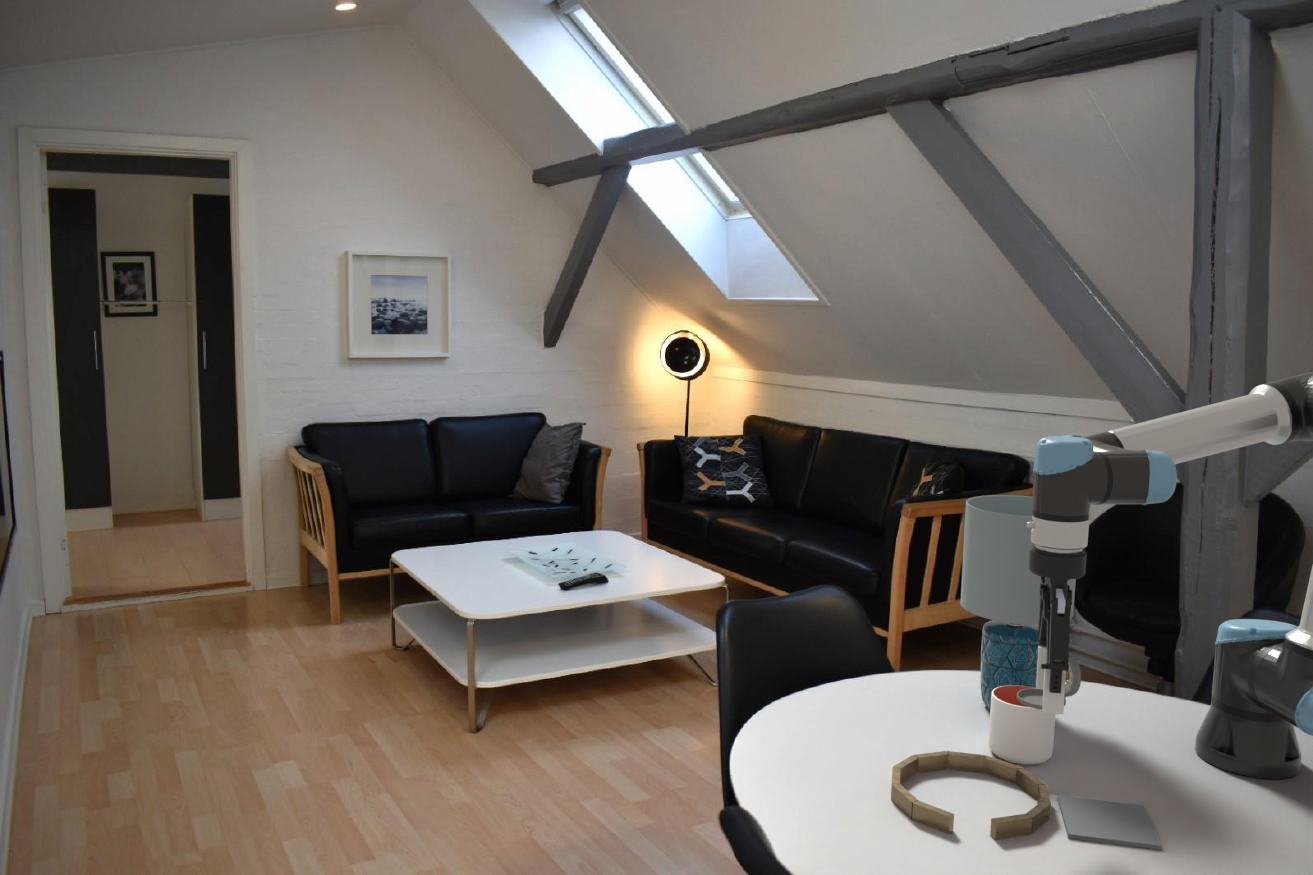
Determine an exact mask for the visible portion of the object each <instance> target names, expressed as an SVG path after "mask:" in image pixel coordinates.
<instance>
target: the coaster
mask: <svg viewBox="0 0 1313 875" xmlns="http://www.w3.org/2000/svg"><path fill="white" fill-rule="evenodd" d="M1056 799H1057V802H1058V806H1059V810H1060V814H1061V817H1062V821H1063V824H1064V828H1065V832H1066V835H1067V839H1071V840H1072V839H1073V840H1079V841H1080V840H1082V841H1089V842H1097V843H1106V844H1112V845H1119V846H1120V845H1122V846H1128V847H1136V848H1137V847H1138V848H1144V849H1145V848H1146V849H1152V850H1160V851H1161V850H1162V849H1163V845H1162V843H1161V840H1160V838H1159V836H1158V834H1157V832H1156V829H1155V827H1154V825H1153V822H1152V820H1151V818H1150V816H1149V813H1148V811H1147V809H1146V807H1145V804H1137V803H1129V802H1120V801H1113V800H1103V799H1097V798H1096V799H1095V798H1088V797H1087V798H1086V797H1078V796H1070V795H1069V796H1068V795H1063V794H1062V795H1061V794H1057V798H1056Z"/></svg>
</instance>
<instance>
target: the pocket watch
mask: <svg viewBox="0 0 1313 875" xmlns="http://www.w3.org/2000/svg"><path fill="white" fill-rule="evenodd" d="M1071 645H1073V638H1072V635H1070V634H1069V647H1070V646H1071ZM1055 661H1058V660H1055ZM1068 664H1069V669H1068V671H1066V678H1065V694H1064V707H1065V706H1066V704H1067V700H1066V698H1069V697H1072V696H1074V695H1075V694H1077V692H1078V691H1079V690H1080V687H1081V684H1082V683H1081V681H1082V673H1081V668H1080V664H1079V663H1078V660H1077V659H1076V658H1075V656H1074V655H1073V653H1071V652H1070V651H1069V662H1068ZM1017 699H1018V701H1019V702H1021V703H1022V704H1024V705H1026V706H1028V707H1032V708H1036V709H1041V710H1042V705H1043V689H1023V690H1020V691H1019V692H1018V693H1017Z"/></svg>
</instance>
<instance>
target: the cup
mask: <svg viewBox="0 0 1313 875" xmlns="http://www.w3.org/2000/svg"><path fill="white" fill-rule="evenodd" d="M1023 689H1036V688H1033V687H1027V686H1019V685H1006V686H1000V687H997V688H995V689H994V690H993V691H992V693H991V710H990V709H989V710H990V712H989V729H988V731H989V732H988V747H989V749H990V751H991V752H992V753H993V754H995V756H997V757H998V758H1000V759H1001V760H1003V761H1005V762H1008V763H1012V764H1016V765H1018V764H1019V765H1025V766H1026V765H1032V766H1033V765H1040V764H1043V763H1045V762H1048V761H1049V760H1050V759H1051V757H1052V756H1053V752H1054V743H1055V742H1054V739H1055V728H1056V727H1055V726H1056V724H1055V723H1056V714H1052V713H1043V712H1042V710H1041V709H1036V708H1032V707H1028V706H1026V705H1024V704H1022V703H1021V702H1019V701H1018V699H1017V693H1018V692H1019V691H1020V690H1023Z"/></svg>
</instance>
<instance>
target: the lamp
mask: <svg viewBox="0 0 1313 875" xmlns="http://www.w3.org/2000/svg"><path fill="white" fill-rule="evenodd" d="M1032 506H1033V496H1029V495H1017V494H1016V495H1015V494H1014V495H1013V494H1011V495H1010V494H991V495H990V494H988V495H980V496H978V495H977V496H973V497H970V498H968V499H966V500H965V511H964V512H965V514H964V515H965V516H964V530H963V531H964V532H963V533H964V534H963V549H962V550H963V552H962V569H961V586H960V587H961V588H960V606H961V608H963V609H964V610H965V611H967V612H968V613H971V614H973V615H975V616H977V617H981V618H983V619H986V620H987V619H988V620H989V621H987V622H985V623H984V624H983V627H982V633H981V634H982V635H981V646H980V647H981V649H980V693H981V694H980V695H981V700H982V702H983V704H984V705H985V707H986V708H987V709H989V710H991V693H992V691H993V690H994V689H995V688H997V687H1000V686H1006V685H1019V686H1027V687H1033V688H1036V679H1037V662H1038V646H1042V645H1039V642H1038V639H1039V637H1038V635H1037V631H1038V622H1039V609H1040V590H1039V588H1040V583H1041V576H1038V575H1035V574H1033V573H1032V572H1031V571H1030V570H1029V555H1030V547H1031V546H1032V545H1034V543H1032V542H1031V530H1032V529H1030V528H1028V527H1027V523H1028V522H1033V519H1032V509H1033V508H1032ZM1076 580H1077V579H1070V580H1068V581H1067V585H1069V586H1070V590H1072V605H1071V612H1070V620H1071V619H1073V617H1074V610H1075V608H1074V607H1075V593H1076Z"/></svg>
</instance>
